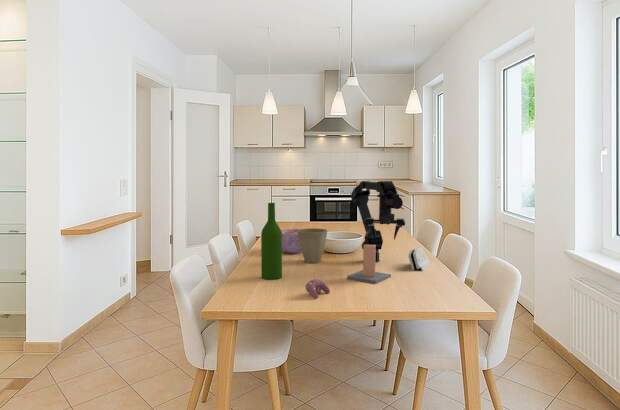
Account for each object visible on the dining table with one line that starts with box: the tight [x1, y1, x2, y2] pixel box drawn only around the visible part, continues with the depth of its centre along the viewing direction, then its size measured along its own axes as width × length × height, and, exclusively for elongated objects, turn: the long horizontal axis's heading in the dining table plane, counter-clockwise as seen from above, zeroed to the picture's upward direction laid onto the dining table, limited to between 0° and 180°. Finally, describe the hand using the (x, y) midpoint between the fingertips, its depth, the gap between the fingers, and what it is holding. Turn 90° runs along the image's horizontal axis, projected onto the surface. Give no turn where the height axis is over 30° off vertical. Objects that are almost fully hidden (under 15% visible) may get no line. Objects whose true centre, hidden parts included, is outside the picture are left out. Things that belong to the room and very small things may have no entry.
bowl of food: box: [281, 228, 302, 255], centre depth 265 cm, size 20×20×12 cm
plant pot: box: [298, 227, 328, 264], centre depth 240 cm, size 15×15×16 cm
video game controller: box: [305, 278, 331, 300], centre depth 182 cm, size 10×5×7 cm, turn 146°
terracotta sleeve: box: [362, 244, 376, 277], centre depth 208 cm, size 5×5×13 cm
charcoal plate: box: [346, 269, 392, 284], centre depth 208 cm, size 14×14×1 cm
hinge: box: [408, 247, 431, 272], centre depth 230 cm, size 17×5×10 cm, turn 153°
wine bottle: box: [260, 202, 283, 281], centre depth 207 cm, size 9×9×32 cm
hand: (384, 239), depth 230 cm, fingers open, 9 cm apart
